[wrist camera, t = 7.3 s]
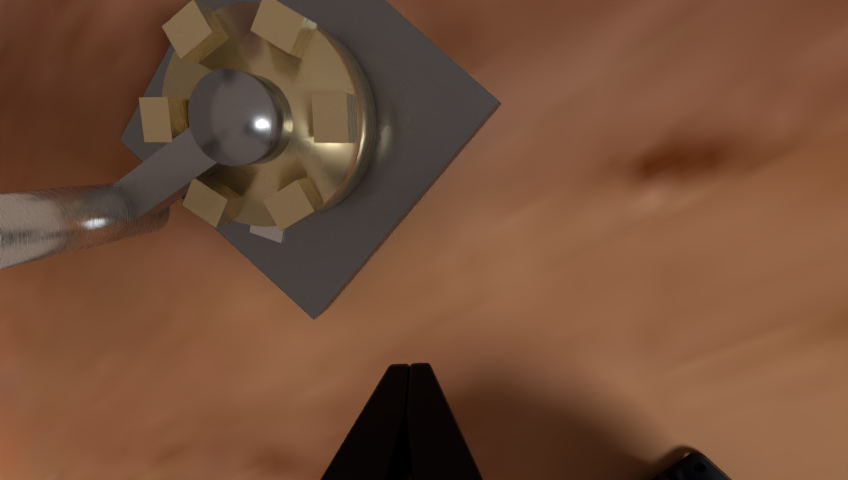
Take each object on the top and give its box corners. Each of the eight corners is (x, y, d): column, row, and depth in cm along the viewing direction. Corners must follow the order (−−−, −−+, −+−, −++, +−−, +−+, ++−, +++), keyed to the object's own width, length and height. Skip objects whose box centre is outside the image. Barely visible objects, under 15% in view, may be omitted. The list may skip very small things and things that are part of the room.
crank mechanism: (309, -28, 19) (112, -176, 10) (413, 162, 20) (313, 179, 11) (107, 136, 23) (-159, 134, 14) (199, 288, 24) (-1, 376, 15)
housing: (501, 103, 20) (498, 100, 19) (326, 309, 25) (312, 321, 23) (274, -97, 21) (252, -117, 19) (143, 140, 25) (115, 140, 23)
